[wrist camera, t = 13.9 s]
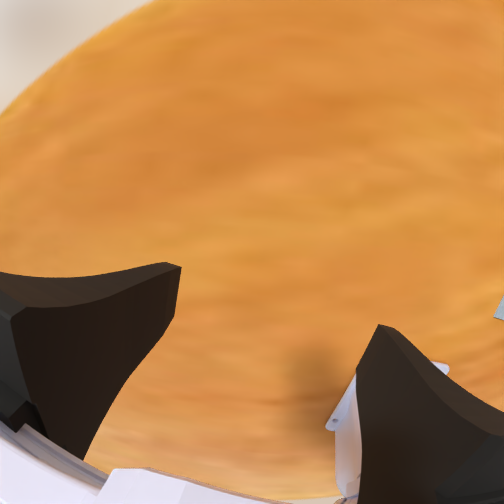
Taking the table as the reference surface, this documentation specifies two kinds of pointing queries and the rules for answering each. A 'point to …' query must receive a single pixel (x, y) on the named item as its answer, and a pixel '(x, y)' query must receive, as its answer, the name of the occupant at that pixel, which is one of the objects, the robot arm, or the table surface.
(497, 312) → the mat
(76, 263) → the table surface
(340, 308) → the table surface
